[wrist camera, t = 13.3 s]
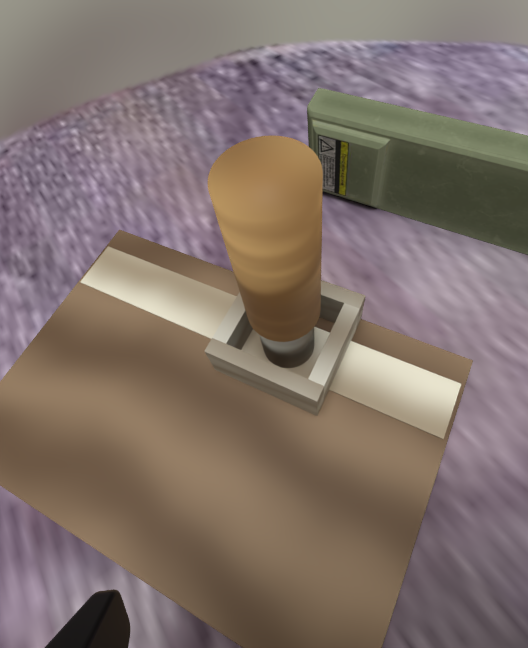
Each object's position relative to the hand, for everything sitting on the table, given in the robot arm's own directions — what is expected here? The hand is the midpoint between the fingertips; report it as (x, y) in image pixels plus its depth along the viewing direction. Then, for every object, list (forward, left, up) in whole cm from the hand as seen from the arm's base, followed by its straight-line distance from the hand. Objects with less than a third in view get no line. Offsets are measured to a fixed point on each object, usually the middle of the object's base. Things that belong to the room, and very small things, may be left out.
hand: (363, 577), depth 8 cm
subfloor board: (+3, +9, -14) cm, 16 cm away
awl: (+8, +6, -12) cm, 16 cm away
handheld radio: (+21, -2, -14) cm, 26 cm away
